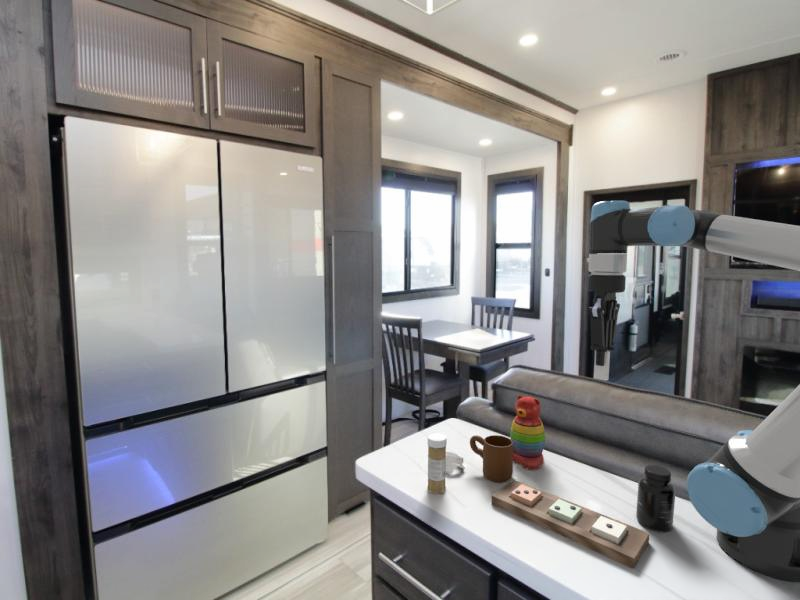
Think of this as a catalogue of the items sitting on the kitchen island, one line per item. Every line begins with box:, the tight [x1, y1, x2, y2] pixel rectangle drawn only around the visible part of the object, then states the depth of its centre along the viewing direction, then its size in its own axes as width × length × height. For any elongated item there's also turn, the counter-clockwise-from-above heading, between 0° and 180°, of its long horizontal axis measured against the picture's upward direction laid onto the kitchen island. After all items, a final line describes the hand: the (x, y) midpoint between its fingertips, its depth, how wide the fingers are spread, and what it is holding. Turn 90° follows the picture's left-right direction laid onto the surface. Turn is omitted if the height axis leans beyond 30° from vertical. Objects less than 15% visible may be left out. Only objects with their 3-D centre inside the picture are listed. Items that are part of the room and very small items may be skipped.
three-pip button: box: [511, 484, 542, 507], centre depth 100 cm, size 5×5×3 cm
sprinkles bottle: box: [427, 433, 448, 495], centre depth 106 cm, size 5×5×14 cm
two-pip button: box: [549, 499, 581, 525], centre depth 93 cm, size 5×5×3 cm
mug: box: [469, 434, 514, 483], centre depth 114 cm, size 12×8×9 cm, turn 51°
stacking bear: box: [509, 394, 546, 471], centre depth 121 cm, size 11×10×18 cm
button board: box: [491, 478, 650, 569], centre depth 93 cm, size 30×10×2 cm, turn 46°
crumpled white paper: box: [446, 451, 466, 475], centre depth 117 cm, size 8×7×5 cm
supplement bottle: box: [635, 464, 676, 533], centre depth 93 cm, size 7×7×12 cm
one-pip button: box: [592, 516, 627, 545], centre depth 87 cm, size 5×5×3 cm
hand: (601, 378), depth 98 cm, fingers closed
